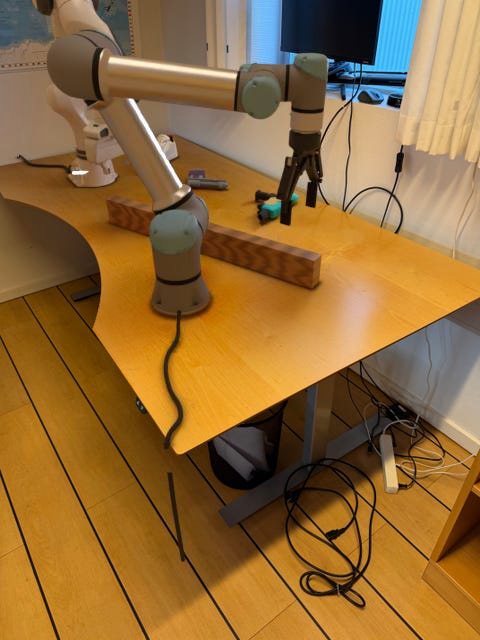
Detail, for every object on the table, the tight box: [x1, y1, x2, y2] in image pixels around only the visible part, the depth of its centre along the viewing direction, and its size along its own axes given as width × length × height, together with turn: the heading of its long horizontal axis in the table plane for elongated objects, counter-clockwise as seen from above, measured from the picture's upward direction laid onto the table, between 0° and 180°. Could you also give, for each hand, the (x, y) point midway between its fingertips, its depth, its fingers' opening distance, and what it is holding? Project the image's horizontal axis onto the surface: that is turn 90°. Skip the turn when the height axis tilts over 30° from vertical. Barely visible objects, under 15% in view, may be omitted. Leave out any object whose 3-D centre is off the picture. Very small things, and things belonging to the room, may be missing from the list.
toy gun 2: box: [254, 189, 299, 223], centre depth 172 cm, size 4×26×15 cm
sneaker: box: [156, 133, 179, 162], centre depth 214 cm, size 10×29×12 cm, turn 163°
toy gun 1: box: [185, 168, 229, 190], centre depth 195 cm, size 4×19×15 cm
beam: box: [105, 194, 322, 290], centre depth 147 cm, size 79×4×9 cm, turn 56°
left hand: (118, 169), depth 154 cm, fingers open, 8 cm apart
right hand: (298, 215), depth 123 cm, fingers open, 13 cm apart
